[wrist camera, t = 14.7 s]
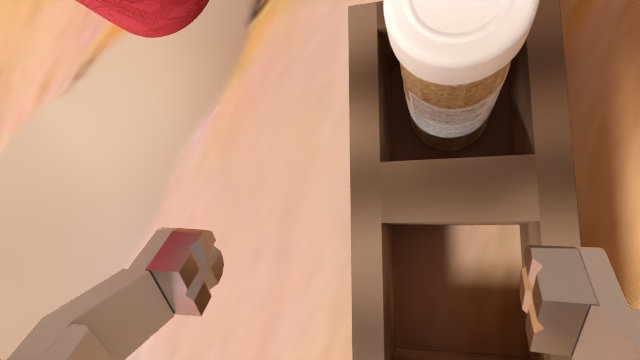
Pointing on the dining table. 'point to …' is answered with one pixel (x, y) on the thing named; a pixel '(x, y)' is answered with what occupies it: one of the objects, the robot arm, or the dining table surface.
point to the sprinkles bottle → (455, 61)
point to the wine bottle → (148, 14)
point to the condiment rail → (453, 175)
